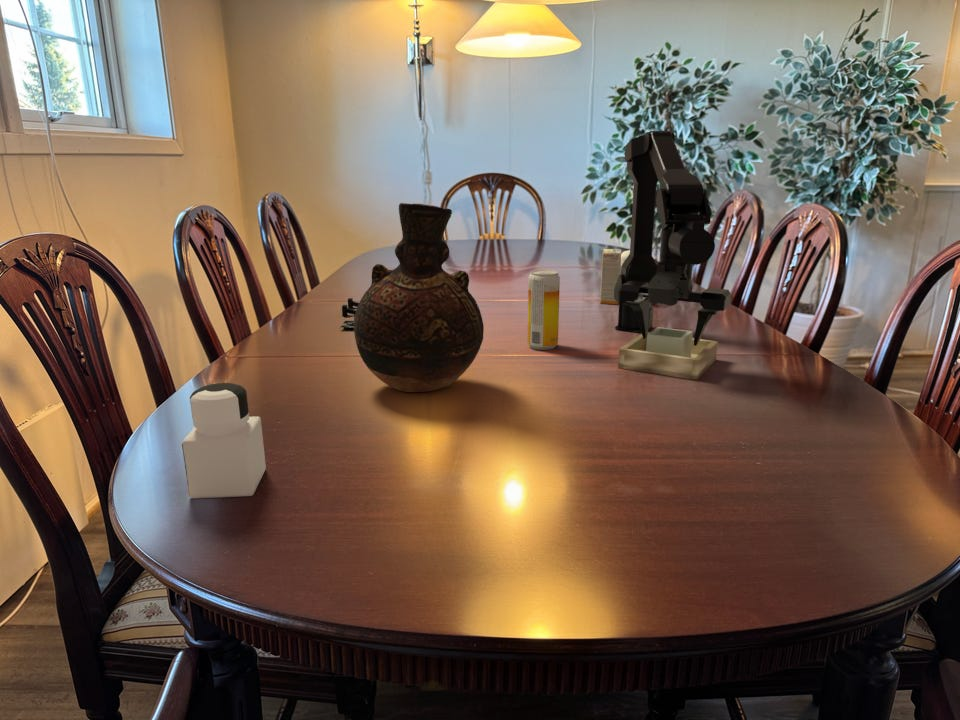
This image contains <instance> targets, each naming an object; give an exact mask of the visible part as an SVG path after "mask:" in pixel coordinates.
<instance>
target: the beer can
mask: <svg viewBox="0 0 960 720" xmlns="http://www.w3.org/2000/svg"><path fill="white" fill-rule="evenodd" d="M560 279H561V278H560V275H559V272H558V271H556V270H552V269H536V270H535V269H534V270H531V271H530V274H529V275H528V282H527V284H528V285H527V286H528V287H527V288H528V290H527V344H528V345H529V347H530V348H531V349H532V350H538V351H549V350H553V349H555V348H556V346H557V345H558V343H559V324H560V323H559V320H560V319H559V318H560V314H559V313H560V285H561V283H560V282H561V280H560Z"/></svg>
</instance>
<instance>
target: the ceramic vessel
mask: <svg viewBox="0 0 960 720" xmlns="http://www.w3.org/2000/svg"><path fill="white" fill-rule="evenodd" d="M452 213H453V211H452V209H450V208H444V207H440V206H436V205H432V204H431V205H430V204H429V205H428V204H424V203H407V202H406V203H405V202H400V203H399V204H398V214H399V215H398V216H399V222H400V227H401V233H402V237H401V238H402V239H401V240H400V241H399V242H398V243H397V245H396V247H395V248H394V249H395V250H394V253H395V257H396V258H397V260H398V261H399V264H398V265H397V266H396V268H393V269H388V267H386V266H385V265H383V264H382V263H376V264H375V265H374V266H373V267H372V269H371V284H370V286H369V287H368V289H367V290H366V291H365V292H364V294H363V295H362V297H361V299H360V301H359V302H358V303H359V304H358V307H356V309H355V310H356V313H355V315H354V317H355V318H354V317H353V321H354V328H353V333H354V339H355V344H356V347H357V348H356V349H357V350H358V353H359V356H360V358H361V359H362V361H363V363H364V364H365V366H366V367H367V369H368V370H369V371H370V372H371V373H372V374H373V376H375V377H376V378H378V379H377V380H380V381H381V382H383V384H385V385H387V386H389V387H391V388H393V389H395V390H397V391H400V392H404V393H406V392H408V393H409V392H410V393H422V392H423V393H424V392H431V391H435V390H440V389H443V388H444V389H445V388H446V387H448V386H450V385H451V384H453V383H454V382H456V381H457V380H458V379H459V378H460V377H461V376H462V375H463V374H464V373H465V372H467V370H468V369H469V368H470V366H471V365H472V364H473V362H474V361H475V359H476V357H477V355H478V353H479V351H480V350H481V346H482V343H483V341H484V329H485V328H484V322H483V321H484V320H483V317H482V313H481V310H480V308H479V305H478V303H477V301H476V299H475V298H474V296H473V295H472V293H470V291H469V283H470V277H469V274H468V273H467V272H466V271H463V270H457V271H455V272H453V273H451V274H450V273H448V272H447V271H445V270H444V268H443V264H444V263H446V261H447V260H448V258H449V257H450V248H449V246H448V244H447V243H445V241H443V237H444V233H445V230H446V229H447V225H448V224H449V221H450V219H451V217H452Z"/></svg>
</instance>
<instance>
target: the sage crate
mask: <svg viewBox="0 0 960 720" xmlns="http://www.w3.org/2000/svg"><path fill="white" fill-rule="evenodd" d="M648 333H649V334H647V343H646V351H647V352H654V353H661V354H668V355H675V356H682V357H689V358H691V348H692V338H694V337H693V335H694V331H693V330H686V329H675V328H670V327H669V328H668V327H661V326H657V327H655V328H654V329H652V330H651V331H650V332H648Z"/></svg>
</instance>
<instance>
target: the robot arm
mask: <svg viewBox="0 0 960 720" xmlns="http://www.w3.org/2000/svg"><path fill="white" fill-rule="evenodd" d="M624 161H625V162H626V171H627V173H628V175H629V176H630V178H631V179H630V180H631V181H632V183H633V191H632V193H633V194H632V210H631V211H632V212H631V225H630V226H631V227H630V228H631V230H630V241H629V243H630V244H629V245H630V246H629V247H630V248H629V250H630V254H629V255H628V257H627V258H626V260H625V261H624V263H623V264H622V266H621V274H620V275H619V276H618V279H617V282H616V285H615V288H614V299H615V300H616V301H617V302H618V315H617V317H618V319H617V322H618V323H617V325H615V327H614V329H615V330H620V331H629V332H635V333H640V334H642V336H643V339H646V338H647V334H648V333H649V329H651V328H652V327H653V323H654V322H653V319H654V308H653V307H652V305H656V304H660V305H666V306H671V307H672V306H676V305H677V304H678V302H687V303H697V304H699V305H700V306H701V308H700V309H698V310H697V322H696V325H695V326H696V327H695V332H694V337H693V338H694V346H696V345H697V344H698V342H699V340H700V339H702V335H703V334H704V332H705V330H706V327H707V325H708V323H709V321H710V320H711V318H712V317H713V316H714V315H717V314H718V313H720V312H724V311H725V310H727V309H728V308H729V307H730V306H731V302H732V301H731V300H732V293H731V292H730V290H729V289H726V288H715V287H713V288H712V287H707V288H706V289H704V291H693V282H692V280H693V270H694V269H693V268H694V266H696V265H702V264H704V263H705V262H707V261H709V260H710V259H711V257H712V256H713V254H714V252H715V248H716V243H715V240H714V239H715V238H714V237H713V235H712V234H711V233H710V232H709V231H707V230H706V229H705V225H710V224H711V223H712V222H711V217H712V215H713V213H712V209H711V205H710V201H709V197H708V195H707V190H706V189H705V188H704V185H703V183H702V182H701V181H700V179H699V178H698V177H697V176H696V175H694V174H692V173H690V172H688V171H687V170H686V167H685V164H684V163H683V160H682V158H681V154H680V152H679V150H678V148H677V145H676V136H675V132H673V131H670V130H649V131H646V132H645V133H644V134H642V135H640V136H636V137H632V138H631V139H630V140H629V141H628V142H627V143H626V145H625V148H624ZM658 183H659V188H658V190H657V186H658ZM656 209H657V212H658V216H659V219H660V224H661V231H660V233H661V237H660V246H659V247H660V248H659V261H658V262H657V263H656V261H655V259H654V257H653V244H654V230H655V229H654V228H655V217H656V215H655V213H656Z"/></svg>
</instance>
